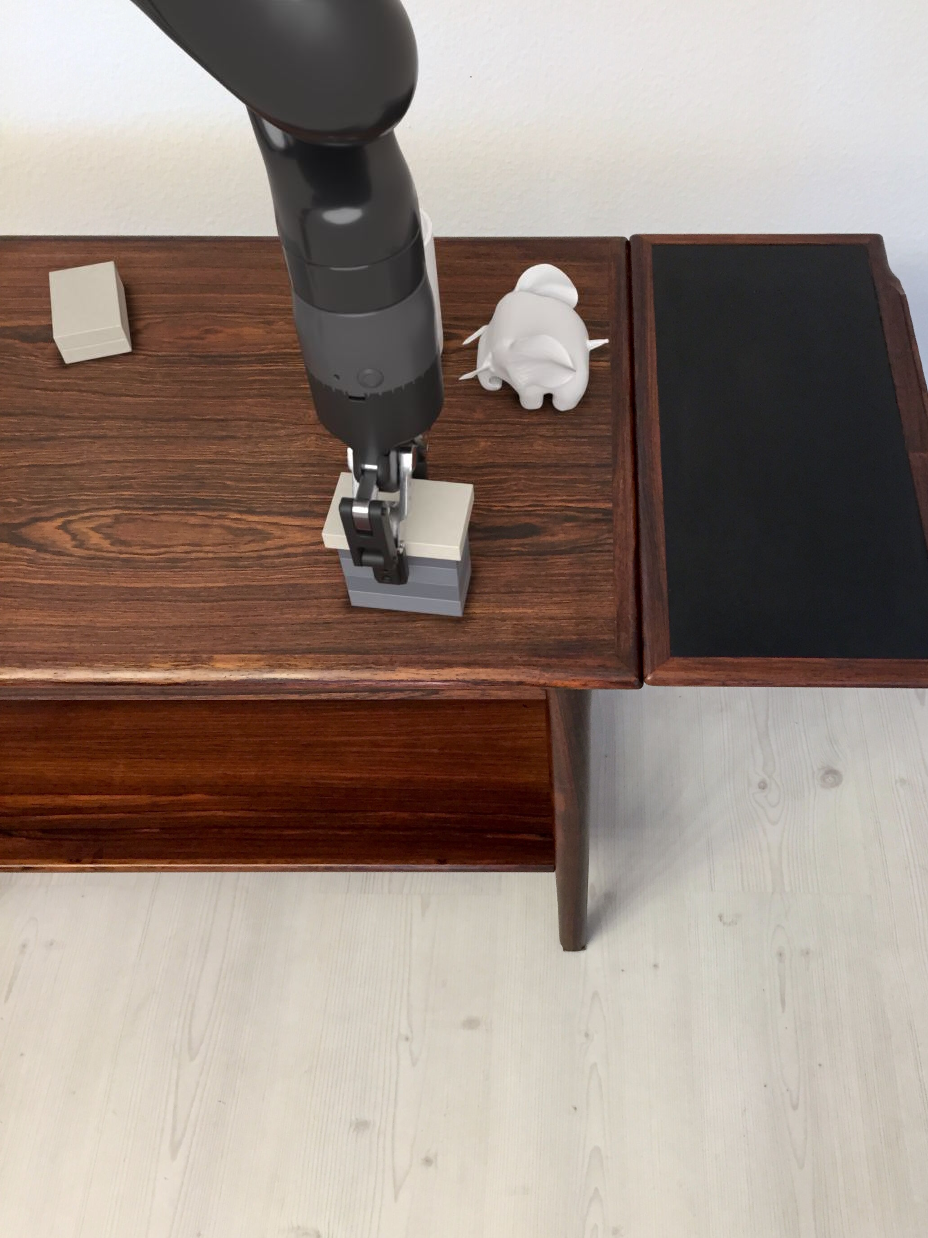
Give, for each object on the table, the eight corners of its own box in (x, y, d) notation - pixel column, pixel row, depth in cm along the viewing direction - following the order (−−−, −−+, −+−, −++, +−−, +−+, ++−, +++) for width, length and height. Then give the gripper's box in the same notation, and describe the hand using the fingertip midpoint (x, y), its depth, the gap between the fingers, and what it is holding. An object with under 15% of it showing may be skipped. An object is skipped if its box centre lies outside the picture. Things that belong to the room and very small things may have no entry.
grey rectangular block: (351, 605, 76) (334, 540, 70) (364, 560, 78) (349, 493, 72) (462, 617, 75) (454, 552, 69) (471, 570, 77) (465, 504, 71)
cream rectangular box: (132, 351, 90) (121, 325, 88) (65, 364, 90) (53, 337, 87) (124, 287, 95) (113, 260, 93) (60, 298, 94) (48, 271, 92)
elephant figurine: (466, 346, 91) (459, 257, 84) (605, 349, 91) (611, 260, 83) (457, 425, 86) (449, 337, 78) (605, 429, 85) (611, 340, 78)
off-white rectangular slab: (325, 547, 69) (321, 533, 68) (344, 485, 72) (340, 471, 71) (460, 561, 69) (459, 547, 67) (474, 498, 72) (473, 483, 71)
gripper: (333, 254, 62) (372, 455, 76) (268, 427, 54) (324, 616, 68) (459, 264, 62) (475, 465, 75) (412, 440, 54) (439, 628, 67)
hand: (403, 536), depth 72 cm, fingers open, 7 cm apart
